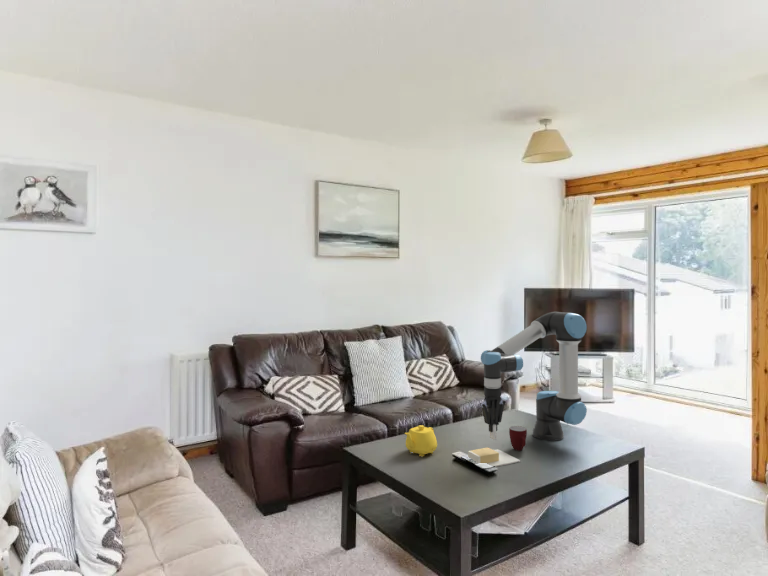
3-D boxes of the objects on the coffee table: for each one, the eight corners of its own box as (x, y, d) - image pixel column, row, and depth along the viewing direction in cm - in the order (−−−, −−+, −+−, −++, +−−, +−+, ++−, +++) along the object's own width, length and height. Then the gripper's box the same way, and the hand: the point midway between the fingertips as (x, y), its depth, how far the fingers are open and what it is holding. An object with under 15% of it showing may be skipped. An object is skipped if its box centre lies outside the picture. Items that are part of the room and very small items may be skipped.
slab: (488, 447, 230) (468, 450, 225) (498, 452, 223) (478, 456, 218) (488, 454, 230) (468, 458, 226) (498, 460, 223) (478, 464, 218)
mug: (533, 452, 234) (533, 431, 234) (518, 454, 231) (518, 433, 231) (520, 445, 244) (520, 425, 244) (505, 447, 241) (505, 427, 241)
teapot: (444, 451, 236) (444, 425, 236) (415, 462, 222) (415, 434, 222) (422, 444, 246) (422, 419, 246) (393, 455, 232) (393, 427, 232)
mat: (498, 450, 237) (498, 449, 237) (520, 461, 223) (520, 460, 223) (460, 457, 229) (460, 456, 229) (481, 469, 214) (481, 468, 214)
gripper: (499, 383, 232) (499, 433, 232) (475, 386, 226) (476, 438, 227) (509, 386, 225) (510, 438, 226) (485, 390, 219) (486, 443, 220)
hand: (493, 438), depth 226 cm, fingers closed
